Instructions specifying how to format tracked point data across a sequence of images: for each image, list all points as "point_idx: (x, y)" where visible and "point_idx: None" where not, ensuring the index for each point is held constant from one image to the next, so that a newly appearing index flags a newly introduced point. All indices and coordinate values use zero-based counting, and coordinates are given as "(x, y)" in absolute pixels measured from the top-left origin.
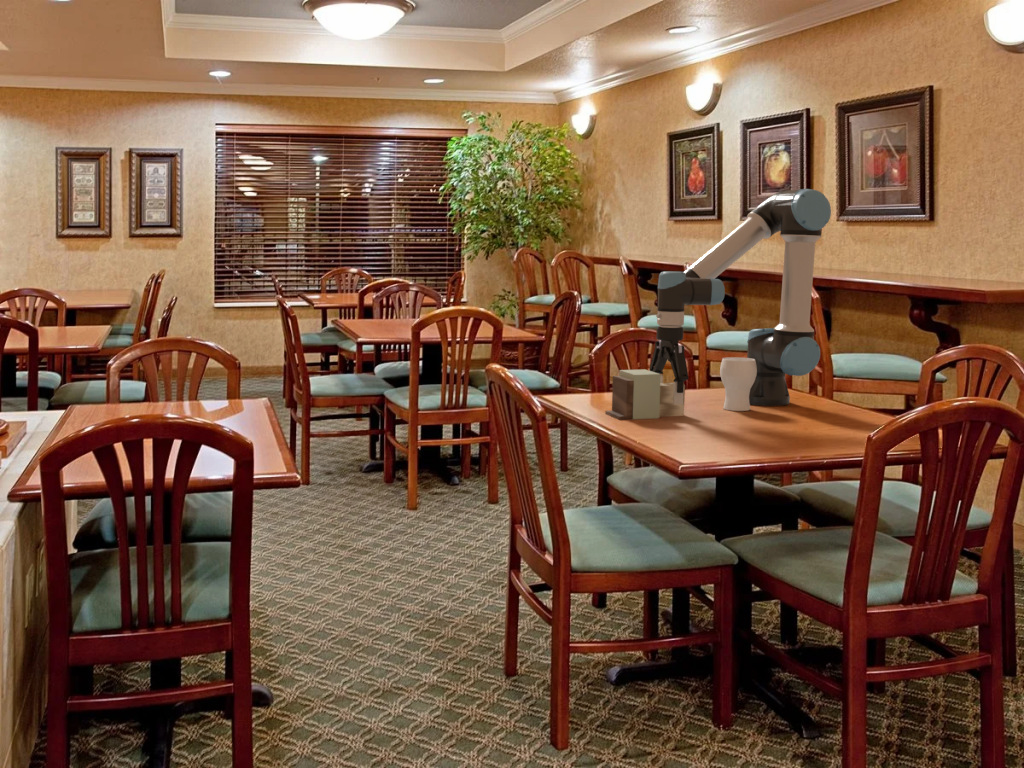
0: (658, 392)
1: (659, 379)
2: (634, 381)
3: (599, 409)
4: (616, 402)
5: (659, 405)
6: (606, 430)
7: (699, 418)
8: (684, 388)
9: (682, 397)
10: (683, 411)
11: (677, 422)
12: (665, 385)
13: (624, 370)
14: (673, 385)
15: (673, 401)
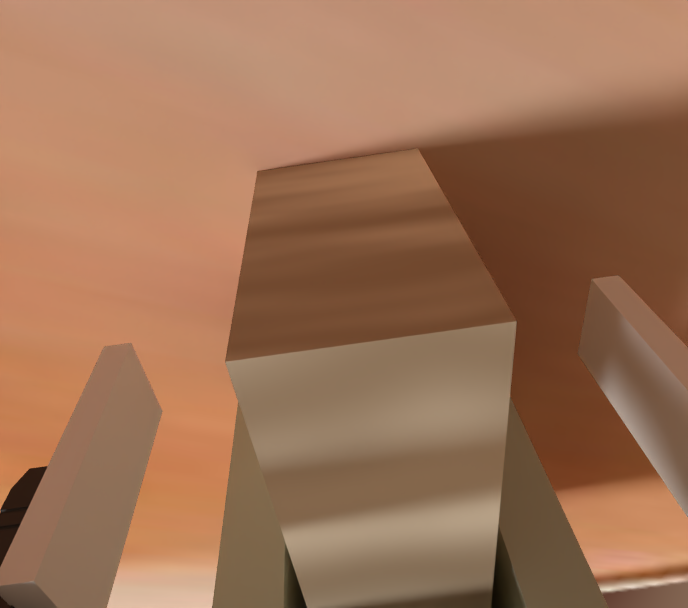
0: (568, 534)
1: None
2: None
3: (135, 554)
4: None
5: (524, 427)
6: (680, 579)
7: (586, 39)
8: (496, 294)
9: (656, 324)
10: (425, 168)
11: (666, 284)
12: (483, 523)
13: None
14: (502, 456)
15: (597, 370)
